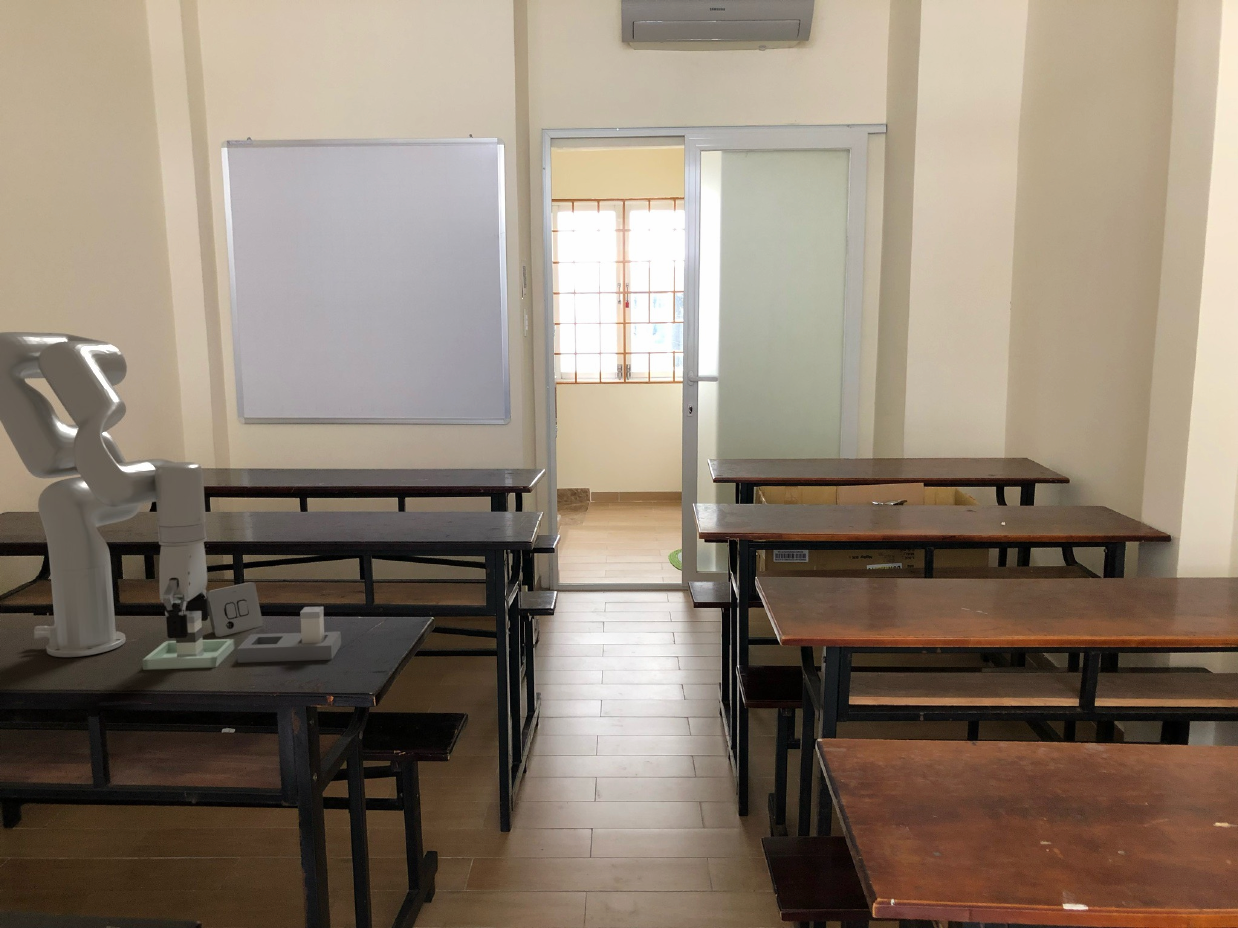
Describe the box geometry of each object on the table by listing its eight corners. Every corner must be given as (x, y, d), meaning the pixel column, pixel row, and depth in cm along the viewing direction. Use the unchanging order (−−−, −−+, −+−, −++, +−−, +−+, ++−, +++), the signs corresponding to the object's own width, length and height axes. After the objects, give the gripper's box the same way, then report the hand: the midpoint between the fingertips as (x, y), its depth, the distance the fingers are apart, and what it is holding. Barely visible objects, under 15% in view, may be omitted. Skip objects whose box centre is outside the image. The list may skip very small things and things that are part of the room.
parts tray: (143, 672, 153) (142, 659, 152) (166, 652, 162) (165, 641, 162) (216, 669, 154) (215, 657, 154) (234, 650, 164) (234, 638, 163)
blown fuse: (177, 661, 156) (174, 616, 155) (184, 654, 160) (182, 611, 159) (196, 660, 157) (194, 616, 156) (203, 654, 160) (201, 610, 159)
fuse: (302, 655, 159) (300, 612, 158) (306, 649, 163) (304, 606, 162) (321, 655, 160) (319, 611, 159) (325, 649, 163) (323, 606, 162)
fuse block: (237, 665, 156) (237, 648, 156) (251, 649, 164) (250, 634, 164) (331, 661, 158) (331, 645, 157) (341, 647, 166) (340, 631, 165)
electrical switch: (218, 640, 170) (213, 591, 169) (205, 637, 173) (200, 590, 173) (264, 628, 177) (259, 582, 177) (250, 625, 180) (246, 580, 180)
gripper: (179, 524, 163) (184, 615, 166) (138, 544, 146) (145, 645, 148) (221, 523, 164) (227, 614, 166) (186, 543, 147) (192, 643, 149)
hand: (188, 628), depth 157 cm, fingers open, 9 cm apart
